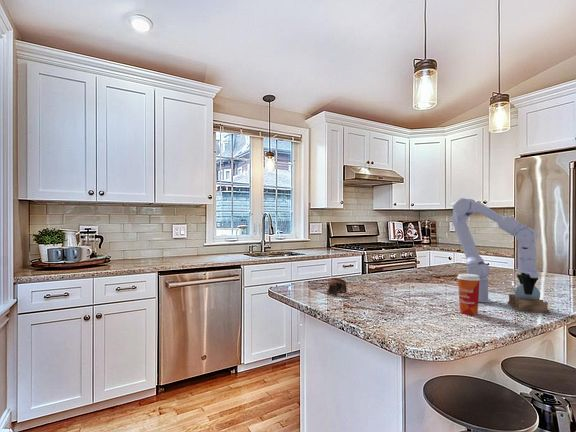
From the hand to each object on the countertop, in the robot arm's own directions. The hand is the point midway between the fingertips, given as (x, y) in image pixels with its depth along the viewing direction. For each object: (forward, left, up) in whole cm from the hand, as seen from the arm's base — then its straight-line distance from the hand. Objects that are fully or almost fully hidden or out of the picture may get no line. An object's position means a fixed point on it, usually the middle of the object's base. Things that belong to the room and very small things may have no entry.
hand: (527, 293), depth 129 cm
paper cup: (-23, -14, -6) cm, 28 cm away
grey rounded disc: (0, 0, -5) cm, 5 cm away
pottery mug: (-74, +3, -6) cm, 74 cm away
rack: (0, 0, -6) cm, 6 cm away
